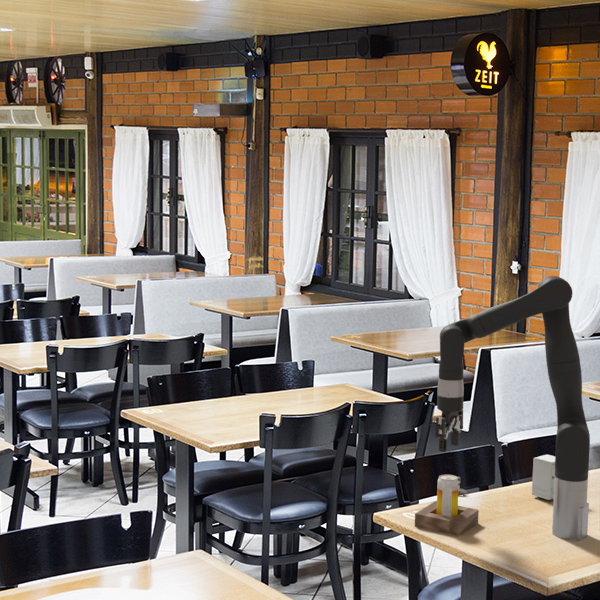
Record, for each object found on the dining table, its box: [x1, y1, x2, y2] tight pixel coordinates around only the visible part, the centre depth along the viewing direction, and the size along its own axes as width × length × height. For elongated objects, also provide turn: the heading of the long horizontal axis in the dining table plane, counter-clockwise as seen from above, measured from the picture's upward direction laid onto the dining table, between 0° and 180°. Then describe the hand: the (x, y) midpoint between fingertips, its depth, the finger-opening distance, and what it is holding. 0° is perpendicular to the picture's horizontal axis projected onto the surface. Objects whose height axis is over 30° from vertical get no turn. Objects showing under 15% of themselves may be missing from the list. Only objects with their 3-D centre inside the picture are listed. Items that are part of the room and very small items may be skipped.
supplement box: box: [531, 454, 555, 501], centre depth 315 cm, size 7×7×13 cm
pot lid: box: [455, 475, 468, 496], centre depth 320 cm, size 12×12×5 cm
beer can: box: [436, 474, 459, 518], centre depth 285 cm, size 6×6×15 cm
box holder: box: [414, 500, 480, 537], centre depth 285 cm, size 14×14×4 cm
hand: (449, 448), depth 283 cm, fingers open, 8 cm apart
